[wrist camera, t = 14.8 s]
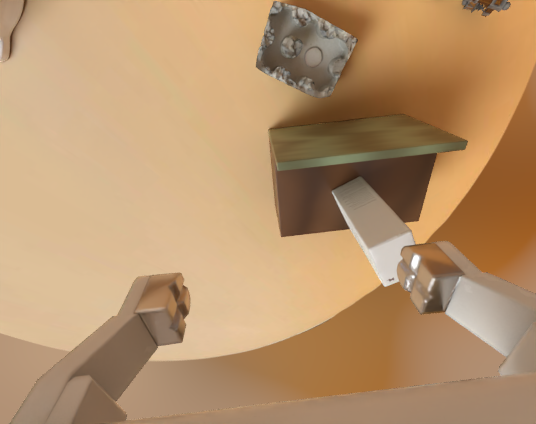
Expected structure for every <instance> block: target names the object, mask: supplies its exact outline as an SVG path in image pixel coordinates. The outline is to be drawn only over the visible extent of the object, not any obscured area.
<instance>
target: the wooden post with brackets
mask: <svg viewBox="0 0 536 424" xmlns="http://www.w3.org/2000/svg"><path fill="white" fill-rule="evenodd" d="M507 1H508V0H463V1H462V5H465V6H464V8H463V9H470V10H472V11H471V13H472V12H473V11H474V10H476V9H478V11H479V10H480V9H482V11H483V9H484V8H485V7H486V9H485V10H484V11H483V13H482V16H485V17H486V16H488V15H490V13H491V12H492V11H493V10H496V11H498V12H499V11H500V10H507V9H508V8H509V7H510V5H511V4H510V2H507ZM480 3H481V4H482V5H481V4H480ZM483 4H484V5H485V7H483Z"/></svg>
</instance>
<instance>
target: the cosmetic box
mask: <svg viewBox="0 0 536 424" xmlns="http://www.w3.org/2000/svg"><path fill="white" fill-rule="evenodd" d="M332 194H333V196H334V198H335V200H336V202H337V204H338V206H339V208H340V211H341V213H342V215H343V217H344V219H345V221H346V223H347V225H348V226H349V228H350V230H351V231H352V233H353V235H354V236H355V238H356V240H357V241H358V243H359V245H360V246H361V248H362V250H363V252H364V253H365V255H366V257H367V258H368V260H369V262H370V264H371V265H372V267H373V269H374V270H375V272H376V274H377V276H378V277H379V279H380V281H381V282H382V284H383V285H384V286H389V285H391V284H394V283H396V282H399V279H398V276H397V266H398V263H399V262H400V261H401V260H402V259H403V258H402V256H401V255H400V253H401V249H402V248H403V247H404V246H409V245H416V244H415V241H414V238H413V235H412V231H411V230H410V229H409V228H408V227H407V225H406V224H405V223H404V222H403V221H402V220H401V219H400V218H399V217H398V216H397V215H396V213H395V212H394V211H393V210H392V209H391V208H390V207H389V206H388V205H387V204H386V203H385V202H384V200H383V199H382V198H381V197H380V196H379V195H378V194H377V193H376V192H375V191H374V190H373V189H372V188H371V186H370V185H369V184H368V183H367V182H366V181H365V180H364V179H363V178H362V177H357V178H356V179H354V180H352V181H350V182H348V183H346V184H344V185H342V186H340V187H338V188H336V189H334V190H332Z"/></svg>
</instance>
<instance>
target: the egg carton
mask: <svg viewBox="0 0 536 424" xmlns="http://www.w3.org/2000/svg"><path fill="white" fill-rule="evenodd" d="M357 41H358V40H357V38H355V37H354V36H352V35H350V34H349V33H347V32H345V31H344V30H342V29H340V28H338V27H336V26H334V25H332V24H331V23H329V22H327V21H326V20H324V19H322V18H320V17H318V16H317V15H315V14H313V13H312V12H310V11H308V10H306V9H303V8H300V7H296V6H292V5H288V4H285V3H281V2H277V1H274V2H273V6H272V8H271V10H270V13H269V17H268V22H267V25H266V28H265V31H264V36H263V39H262V42H261V46H260V48H259V51H258V56H257V62H256V67H257V68H258V69H259V70H261V71H262V72H264V73H266V74H267V75H269V76H271V77H273V78H275V79H277V80H279V81H282V82H284V83H286V84H287V85H289V86H292V87H294V88H296V89H298V90H300V91H302V92H304V93H306V94H309V95H311V96H313V97H317V98H324V97H329V96H330V95H331V94H332V92H333V90H334V88H335V85H336V83H337V81H338V79H339V77H340V75H341V72H342V70H343V68H344V66H345V64H346V62H347V60H348V59H349V57H350V55H351V53H352V51H353V49H354V47H355V45H356V43H357Z"/></svg>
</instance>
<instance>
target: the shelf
mask: <svg viewBox="0 0 536 424" xmlns="http://www.w3.org/2000/svg"><path fill="white" fill-rule="evenodd" d="M268 131H269V142H270V153H271V164H272V175H273V186H274V197H275V206H276V212H277V218H278V223H279V229H280V234H281V237H286V236H294V235H303V234H311V233H320V232H328V231H337V230H346V229H350V228H349V226H348V225H347V223H346V221H345V219H344V217H343V215H342V213H341V211H340V208H339V206H338V204H337V202H336V200H335V198H334V196H333V194H332V190H334V189H336V188H338V187H340V186H342V185H344V184H346V183H348V182H350V181H352V180H354V179H356V178H357V177H362V178H363V179H364V180H365V181H366V182H367V183H368V184H369V185H370V186H371V188H372V189H373V190H374V191H375V192H376V193H377V194H378V195H379V196H380V197H381V198H382V199H383V200H384V202H385V203H386V204H387V205H388V206H389V207H390V208H391V209H392V210H393V211H394V212H395V213H396V215H397V216H398V217H399V218H400V219H401V220H402V221H403V222H404V223H406V222H414V221H419V217H420V214H421V210H422V206H423V203H424V199H425V195H426V192H427V188H428V184H429V181H430V177H431V173H432V170H433V166H434V162H435V159H436V155H437V153H440V152H449V151H457V150H465V148H466V145H467V142H468V141H467V140H465V139H462V138H460V137H458V136H455V135H453V134H450V133H448V132H446V131H443V130H441V129H438V128H436V127H434V126H431V125H429V124H426V123H424V122H422V121H419V120H417V119H414V118H412V117H410V116H407V115H405V114H400V115H391V116H382V117H374V118H365V119H356V120H347V121H338V122H330V123H321V124H312V125H303V126H294V127H286V128H277V129H269V130H268Z"/></svg>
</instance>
